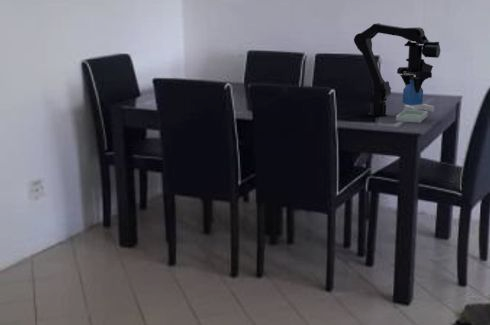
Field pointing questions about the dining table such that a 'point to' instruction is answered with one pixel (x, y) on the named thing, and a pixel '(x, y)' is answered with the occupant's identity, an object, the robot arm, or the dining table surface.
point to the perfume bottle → (412, 94)
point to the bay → (419, 107)
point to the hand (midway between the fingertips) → (413, 91)
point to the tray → (411, 116)
